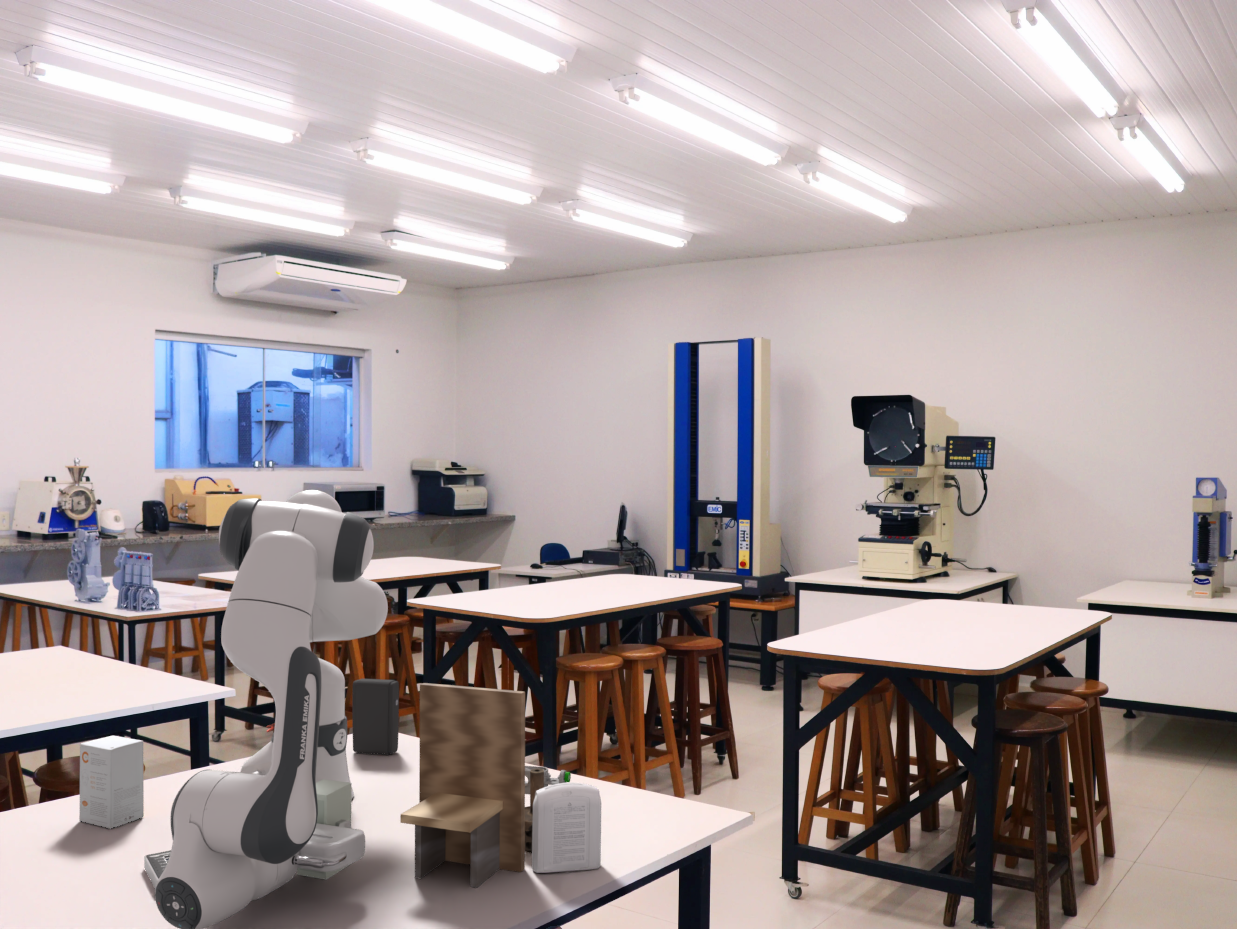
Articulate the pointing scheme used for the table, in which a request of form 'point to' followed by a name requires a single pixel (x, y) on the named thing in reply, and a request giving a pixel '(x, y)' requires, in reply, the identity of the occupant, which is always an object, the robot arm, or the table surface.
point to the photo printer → (566, 828)
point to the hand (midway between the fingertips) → (328, 822)
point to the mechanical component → (546, 777)
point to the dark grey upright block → (375, 716)
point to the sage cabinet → (330, 813)
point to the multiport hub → (156, 865)
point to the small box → (111, 781)
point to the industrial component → (535, 785)
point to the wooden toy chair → (470, 780)
